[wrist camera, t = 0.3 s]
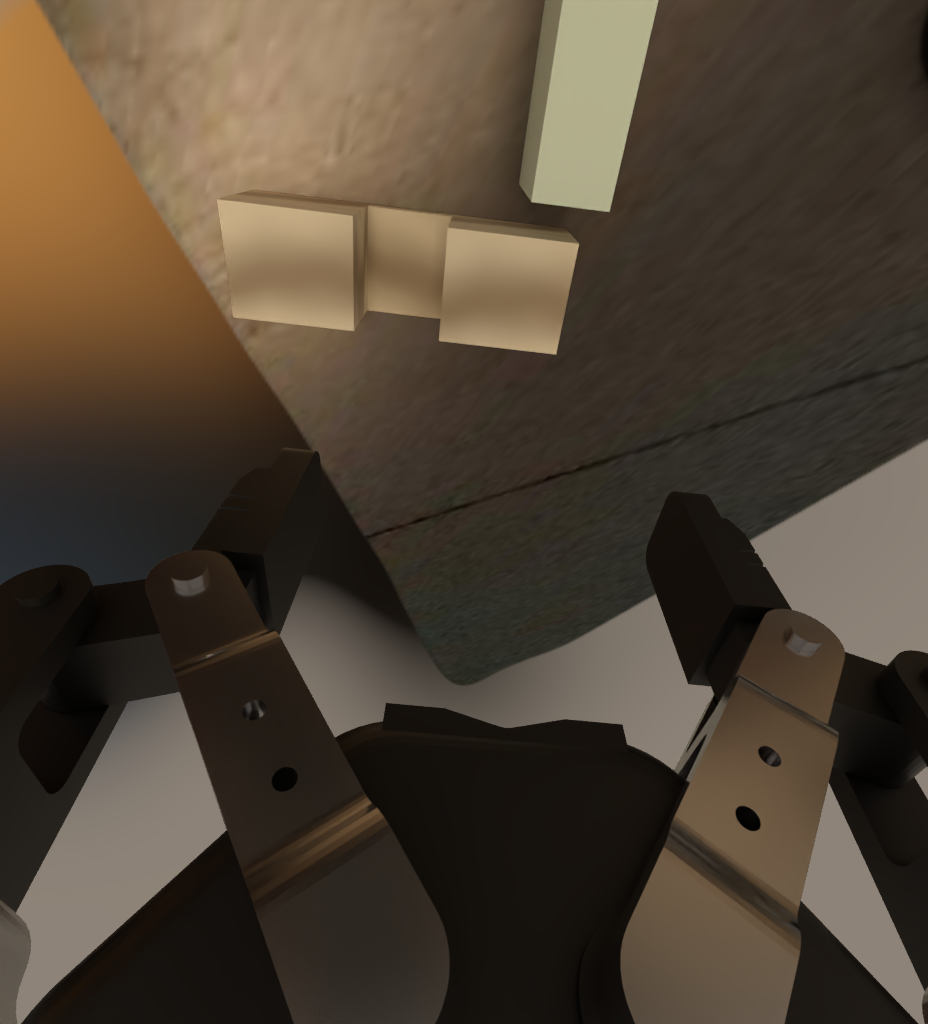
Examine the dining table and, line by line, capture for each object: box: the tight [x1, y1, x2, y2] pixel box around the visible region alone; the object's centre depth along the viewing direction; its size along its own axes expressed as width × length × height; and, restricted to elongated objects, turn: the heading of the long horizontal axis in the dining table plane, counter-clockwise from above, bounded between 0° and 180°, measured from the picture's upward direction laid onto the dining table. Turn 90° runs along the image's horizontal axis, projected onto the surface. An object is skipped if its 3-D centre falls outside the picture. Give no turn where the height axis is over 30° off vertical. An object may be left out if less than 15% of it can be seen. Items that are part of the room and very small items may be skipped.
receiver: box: [217, 190, 579, 354], centre depth 32 cm, size 6×19×6 cm, turn 84°
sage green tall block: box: [519, 0, 658, 212], centre depth 24 cm, size 12×4×10 cm, turn 174°
